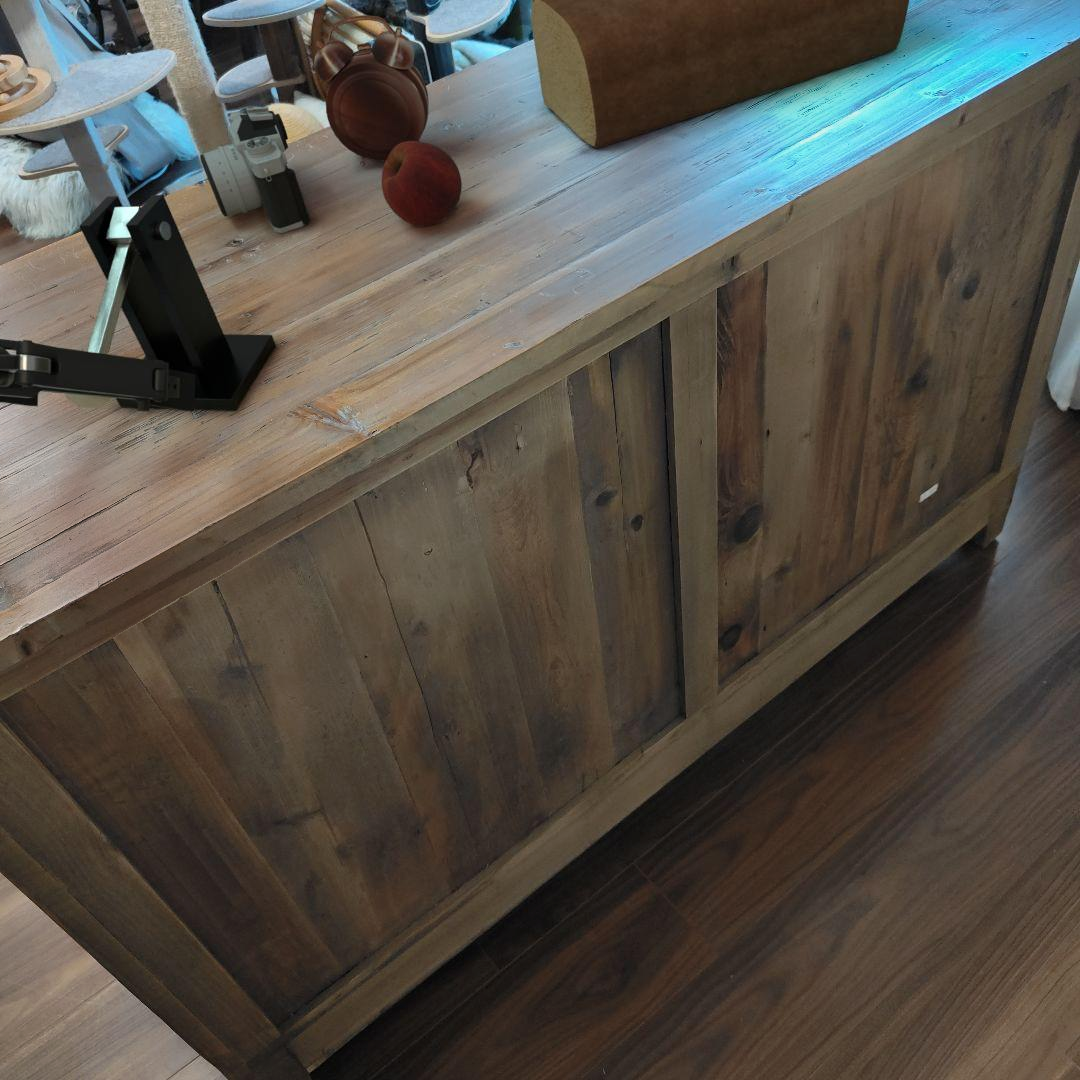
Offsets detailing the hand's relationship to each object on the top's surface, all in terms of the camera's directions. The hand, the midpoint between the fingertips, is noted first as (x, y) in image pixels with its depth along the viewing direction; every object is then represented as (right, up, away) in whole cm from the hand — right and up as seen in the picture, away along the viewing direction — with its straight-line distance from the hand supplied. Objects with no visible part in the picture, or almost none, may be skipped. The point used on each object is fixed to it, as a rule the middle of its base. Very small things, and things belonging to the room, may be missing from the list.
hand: (111, 390), depth 76 cm
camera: (+3, +24, +32) cm, 40 cm away
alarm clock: (+16, +31, +36) cm, 50 cm away
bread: (+53, +41, +38) cm, 77 cm away
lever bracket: (+3, +3, +11) cm, 12 cm away
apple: (+22, +21, +25) cm, 39 cm away
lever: (+1, +6, +1) cm, 6 cm away
